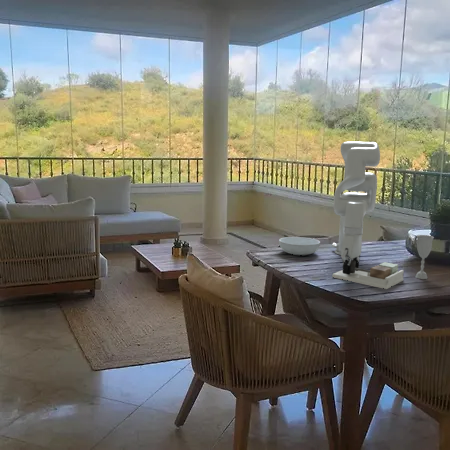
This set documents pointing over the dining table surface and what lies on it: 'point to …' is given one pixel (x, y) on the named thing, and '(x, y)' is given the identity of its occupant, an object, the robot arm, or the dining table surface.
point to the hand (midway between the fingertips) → (350, 271)
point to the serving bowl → (299, 245)
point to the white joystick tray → (372, 281)
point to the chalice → (423, 252)
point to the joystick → (372, 270)
